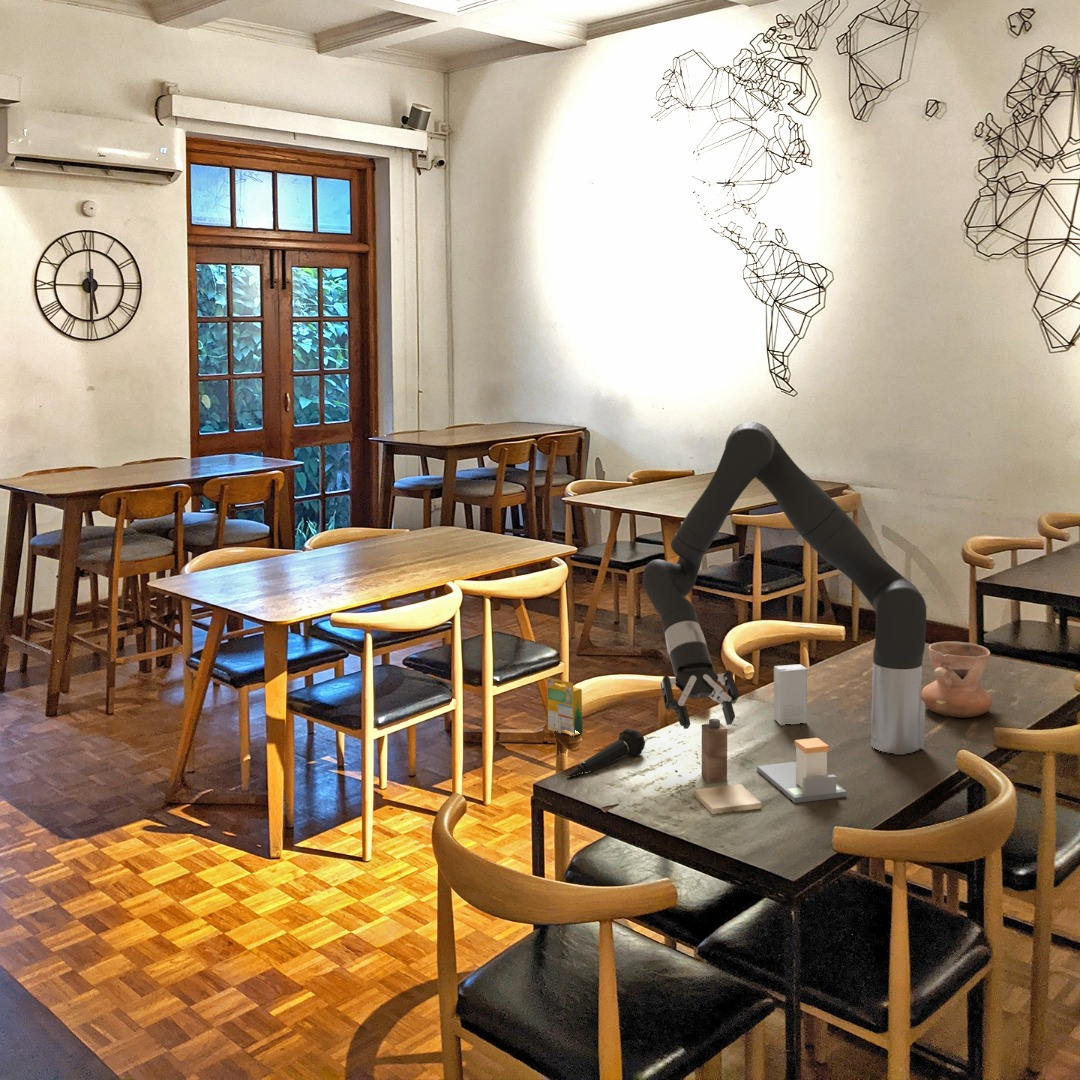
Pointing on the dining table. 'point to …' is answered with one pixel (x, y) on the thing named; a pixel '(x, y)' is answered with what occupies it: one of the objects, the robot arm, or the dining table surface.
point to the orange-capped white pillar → (810, 759)
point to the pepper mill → (714, 751)
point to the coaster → (727, 799)
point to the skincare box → (790, 694)
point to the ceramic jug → (957, 680)
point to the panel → (812, 786)
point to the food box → (564, 706)
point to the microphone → (614, 751)
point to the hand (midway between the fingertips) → (709, 724)
